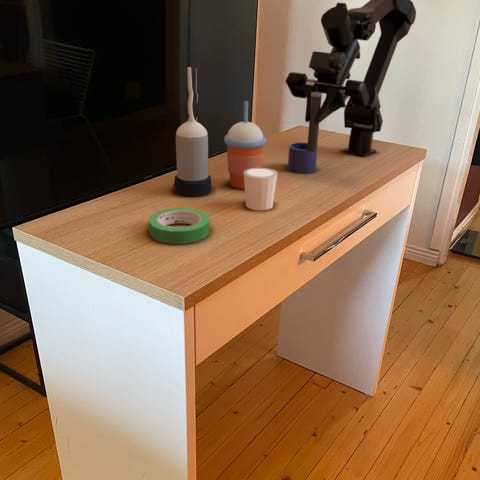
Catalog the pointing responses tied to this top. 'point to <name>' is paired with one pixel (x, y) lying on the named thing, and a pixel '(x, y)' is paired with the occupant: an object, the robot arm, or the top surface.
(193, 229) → the tape roll
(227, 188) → the top surface
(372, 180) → the top surface
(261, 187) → the white tapered cup
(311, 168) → the blue cup
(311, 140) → the gray cylinder
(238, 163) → the cup with straw
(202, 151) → the humidifier
